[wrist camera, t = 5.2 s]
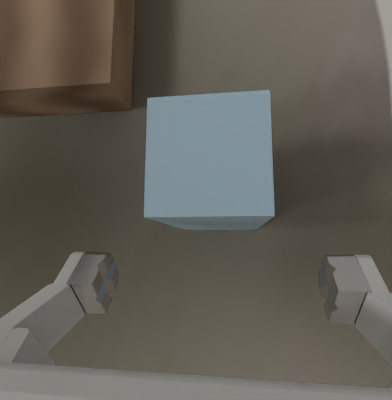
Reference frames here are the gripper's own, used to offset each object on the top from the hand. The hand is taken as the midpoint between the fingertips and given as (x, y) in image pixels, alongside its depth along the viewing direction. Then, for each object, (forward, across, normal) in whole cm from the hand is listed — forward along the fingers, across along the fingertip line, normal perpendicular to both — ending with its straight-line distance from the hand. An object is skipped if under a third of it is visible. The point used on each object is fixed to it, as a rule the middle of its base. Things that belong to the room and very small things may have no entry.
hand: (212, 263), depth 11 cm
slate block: (+10, 0, +4) cm, 10 cm away
